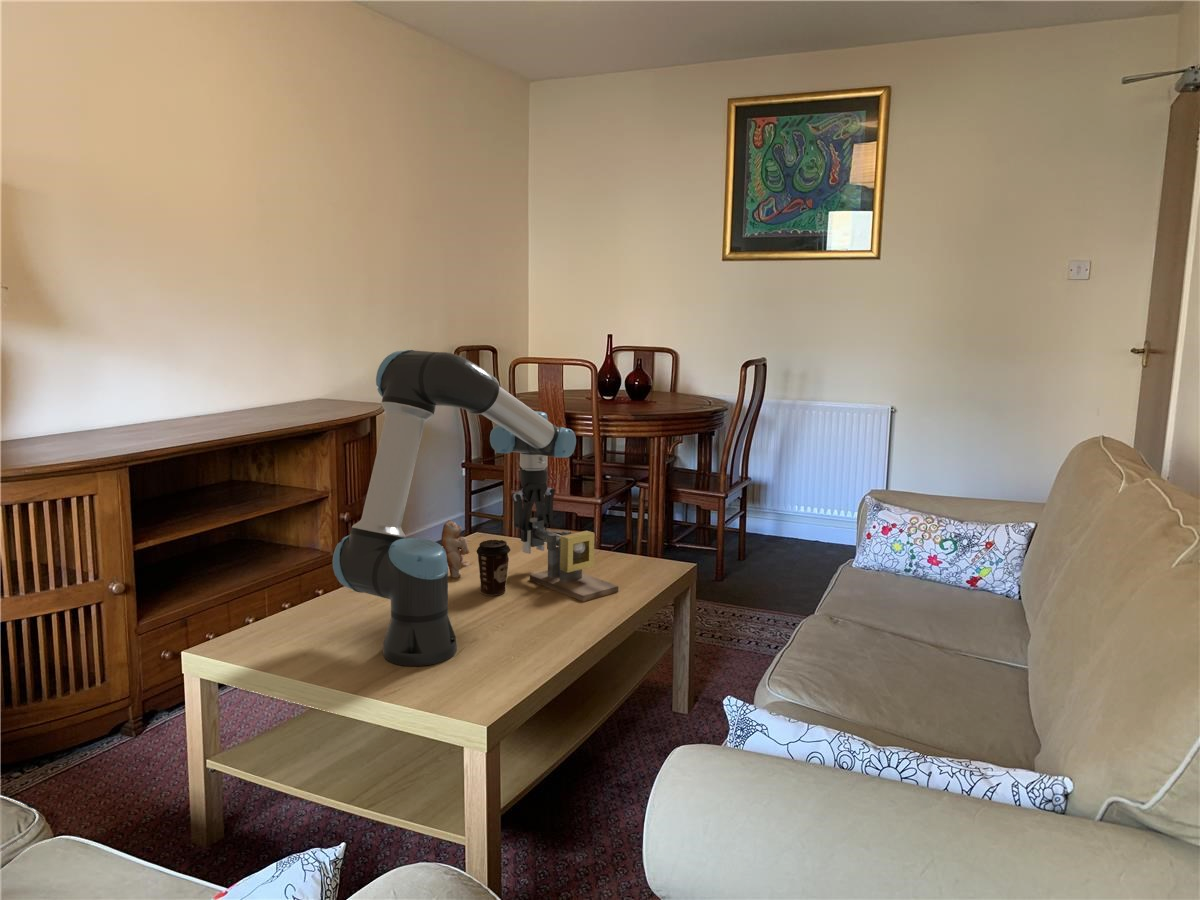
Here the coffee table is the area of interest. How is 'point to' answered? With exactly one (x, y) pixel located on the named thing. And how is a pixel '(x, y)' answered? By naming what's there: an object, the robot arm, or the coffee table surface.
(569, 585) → the bearing block
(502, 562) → the coffee cup
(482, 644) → the coffee table surface
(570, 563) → the block
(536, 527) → the shaft
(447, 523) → the figurine
